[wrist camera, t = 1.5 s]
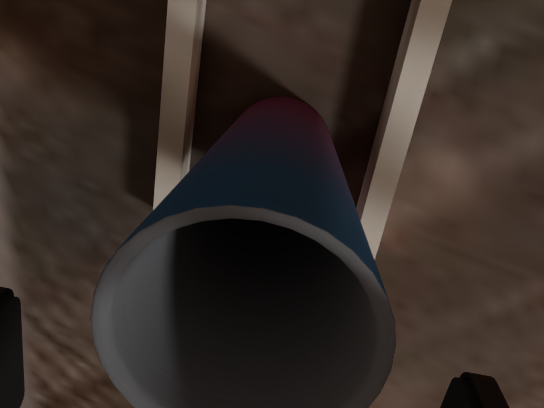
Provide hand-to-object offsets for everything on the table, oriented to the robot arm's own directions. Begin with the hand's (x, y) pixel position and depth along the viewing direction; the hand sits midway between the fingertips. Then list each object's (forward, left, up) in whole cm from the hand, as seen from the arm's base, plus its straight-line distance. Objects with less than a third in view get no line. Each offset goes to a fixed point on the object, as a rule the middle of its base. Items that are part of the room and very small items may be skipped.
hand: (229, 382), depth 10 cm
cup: (-1, 0, -16) cm, 16 cm away
